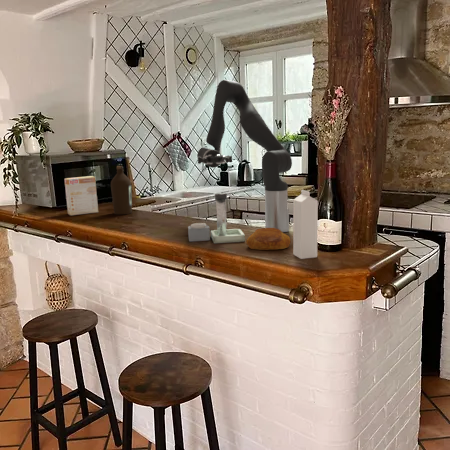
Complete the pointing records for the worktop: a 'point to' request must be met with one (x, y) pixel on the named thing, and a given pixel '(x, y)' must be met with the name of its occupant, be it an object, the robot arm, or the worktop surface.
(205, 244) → the worktop surface
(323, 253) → the worktop surface
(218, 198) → the lock pin
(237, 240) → the tray
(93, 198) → the coffeecake box
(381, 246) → the worktop surface
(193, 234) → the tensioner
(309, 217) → the milk
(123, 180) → the olive oil
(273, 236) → the bread loaf
